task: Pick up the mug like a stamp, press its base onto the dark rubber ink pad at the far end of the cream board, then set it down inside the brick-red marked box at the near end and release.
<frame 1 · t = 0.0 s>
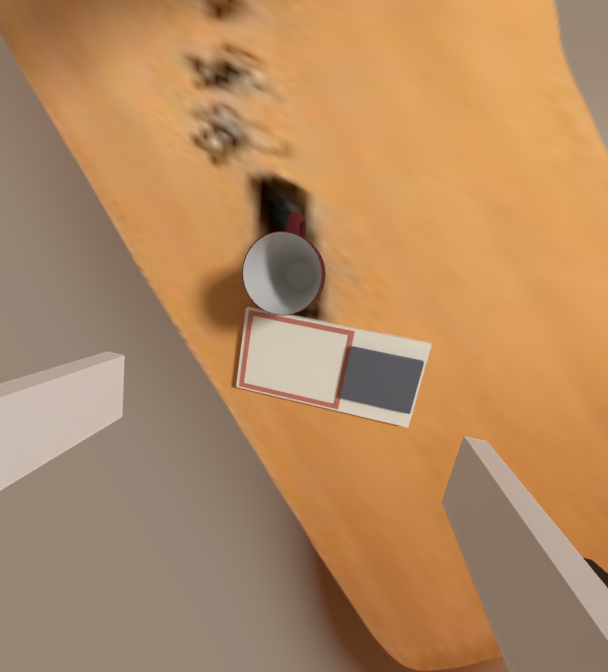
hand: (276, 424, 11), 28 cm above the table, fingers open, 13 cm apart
mug: (299, 265, 37), on the table
board: (327, 364, 39), on the table
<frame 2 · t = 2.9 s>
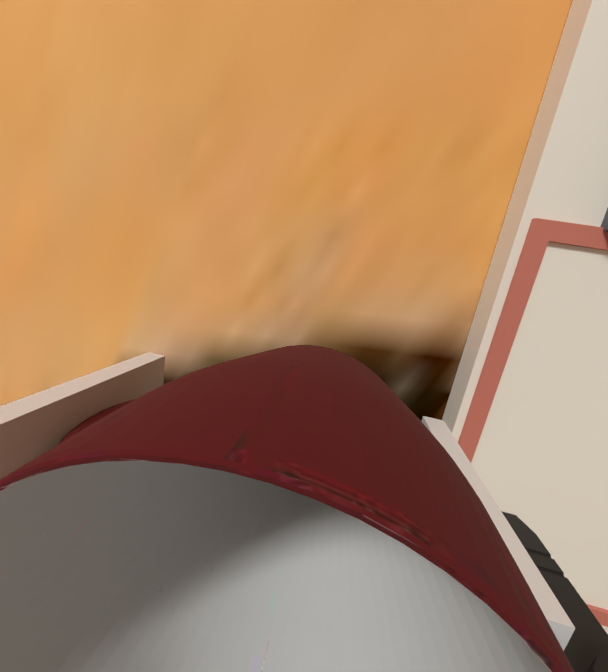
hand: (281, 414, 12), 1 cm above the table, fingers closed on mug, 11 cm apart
mug: (291, 398, 13), on the table, touching gripper
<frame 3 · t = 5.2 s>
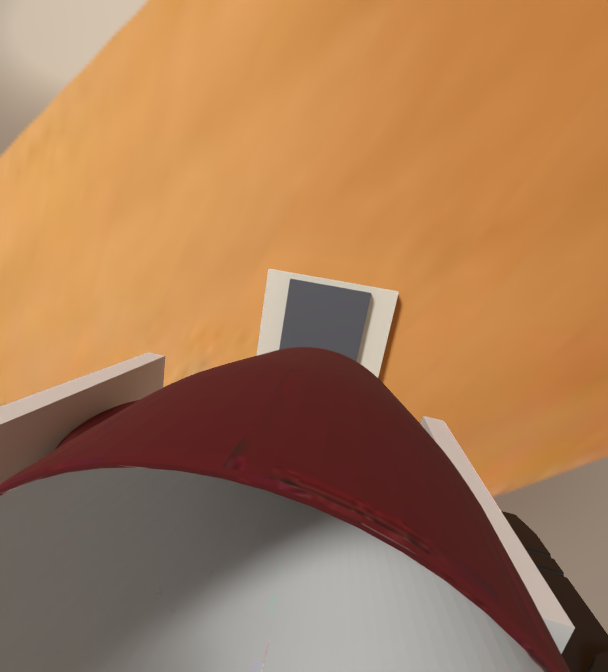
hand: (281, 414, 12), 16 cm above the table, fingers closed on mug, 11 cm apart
mug: (291, 399, 13), point 15 cm above the table, touching gripper
board: (310, 400, 29), on the table
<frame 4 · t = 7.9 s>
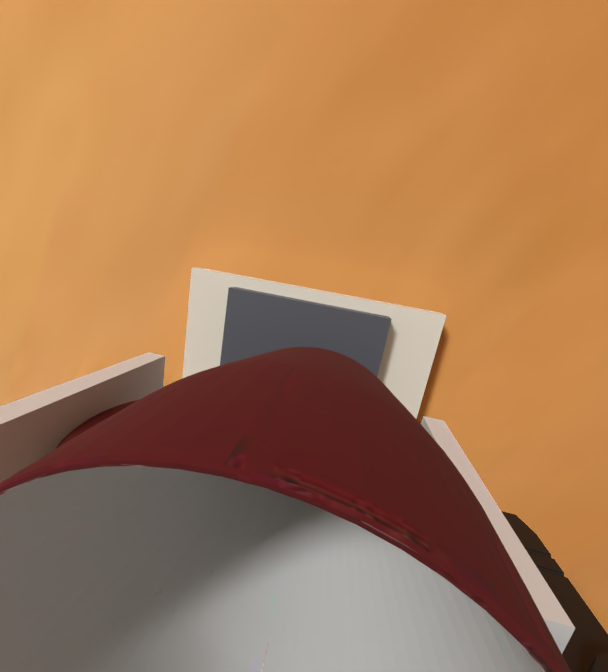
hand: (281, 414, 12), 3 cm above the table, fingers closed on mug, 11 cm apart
mug: (291, 399, 13), point 2 cm above the table, touching board, gripper
board: (277, 496, 17), on the table
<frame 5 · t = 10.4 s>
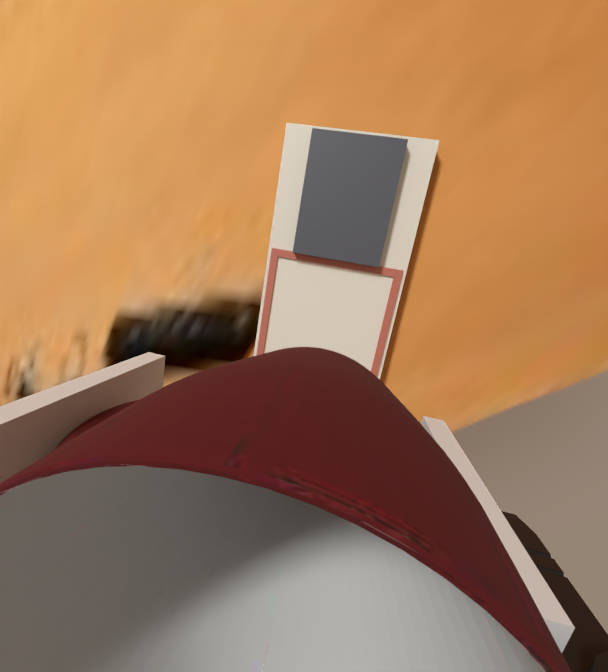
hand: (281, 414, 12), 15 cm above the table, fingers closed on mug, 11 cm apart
mug: (291, 399, 13), point 14 cm above the table, touching gripper
board: (330, 289, 25), on the table
when the fingers open (4 cm above the table, at t = 12.9 s): mug drops 1 cm, resting on board.
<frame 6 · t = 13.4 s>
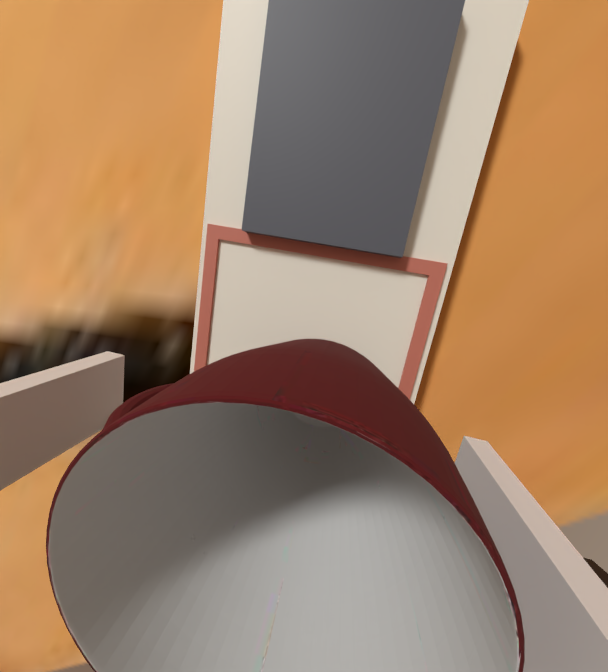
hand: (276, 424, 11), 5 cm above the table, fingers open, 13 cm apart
mug: (297, 387, 15), point 1 cm above the table, touching board
board: (314, 298, 15), on the table
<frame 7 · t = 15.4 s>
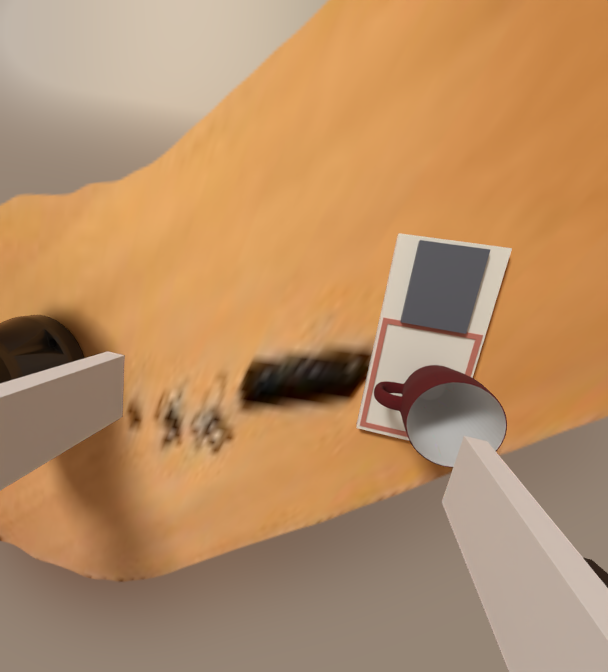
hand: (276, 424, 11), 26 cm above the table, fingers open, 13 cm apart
mug: (417, 383, 35), point 1 cm above the table, touching board
board: (423, 345, 35), on the table
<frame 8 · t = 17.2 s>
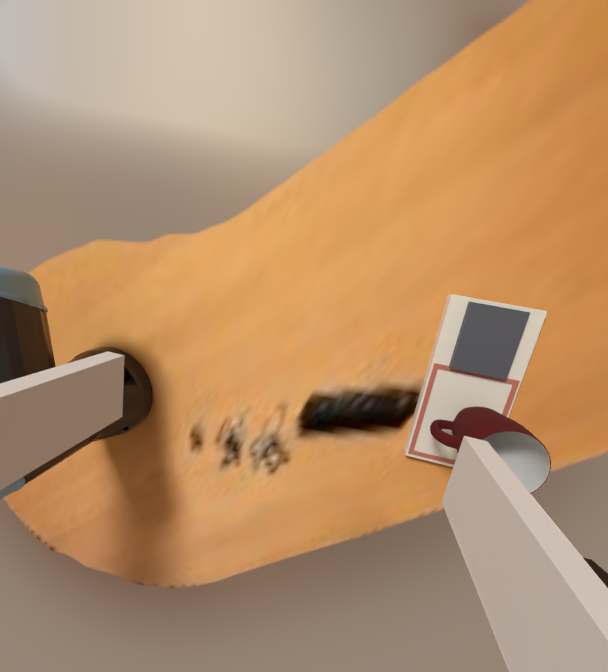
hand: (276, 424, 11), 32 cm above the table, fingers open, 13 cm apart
mug: (460, 418, 40), point 1 cm above the table, touching board
board: (466, 386, 40), on the table
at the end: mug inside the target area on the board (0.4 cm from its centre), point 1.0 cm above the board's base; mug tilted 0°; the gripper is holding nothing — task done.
